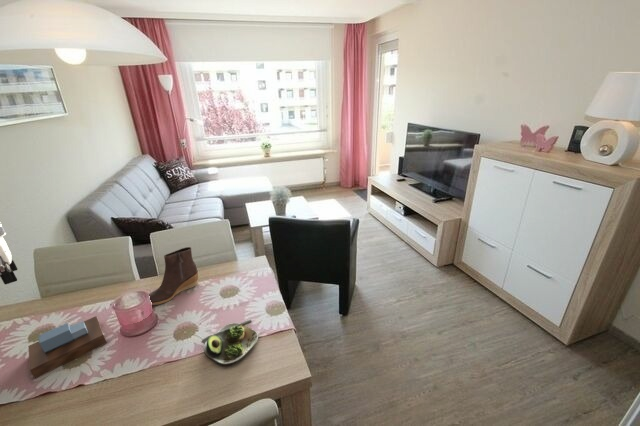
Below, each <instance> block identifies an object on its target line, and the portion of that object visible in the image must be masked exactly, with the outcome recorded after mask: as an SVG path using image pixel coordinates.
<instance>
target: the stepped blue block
mask: <svg viewBox="0 0 640 426" xmlns="http://www.w3.org/2000/svg"><path fill="white" fill-rule="evenodd" d="M87 334H88V331H87V328H86V326H85V324H84V320H82V321H79V322H77V323H74V324H72V325H70V324H69V323H68V322H66V323H64V324H61V325H59V326H57V327H54V328H52V329H50V330H48V331H45V332H43V333H41V334H38V341H39V344H40V345H41V347H42V349H43V351H44V353H45V354H47V353H49V352H51V351H53V350H55V349H57V348H60V347H62V346H64V345H66V344H68V343H70V342H72V341H75V340H77V339H79V338H81V337H83V336H85V335H87Z"/></svg>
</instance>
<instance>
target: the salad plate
mask: <svg viewBox="0 0 640 426" xmlns="http://www.w3.org/2000/svg"><path fill="white" fill-rule="evenodd" d="M251 323H252V319H247V320H245V321H243V322H231V323H228V324H225V325H224V326H223V327H221V328H220V329H219V330H218V331H216V333H214V334H210V335H208V336H206V337H204V338H203V339H201V341H200V343H203V348H202V349H203V353H204V355H205V356H207V358H208V359H210V360H211V361H213V362H214V363H215V364H217V365H220V366H222V367H223V366H224V367H228V366H232V365H235V364H237V363H238V362H240V361H242V360H243V359H244V358H245V357H246V355H247V354H248V353H249V352H250V351H251V350H252V349H253V347H254V346H255V345H256V344H257V342H258V341H259V332H257V331H256V330H255V329H253V328H251V327H249V325H250V324H251Z"/></svg>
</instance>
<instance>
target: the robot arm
mask: <svg viewBox="0 0 640 426" xmlns="http://www.w3.org/2000/svg"><path fill="white" fill-rule="evenodd" d="M6 235H7V232H6V230H5V228H4V225H3V224H2V222H1V221H0V279H1V281H2V282H3V284H4V285H9V284H12V283H15V282H17V281H18V278H17V276H16V274H15V273H14V272H15V271H18V266H17V264H16V263H15V260H13V256H12V252H11V250H10V248H9V246H8V244H7V241H6V240H5V238H4V236H6Z"/></svg>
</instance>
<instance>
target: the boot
mask: <svg viewBox="0 0 640 426" xmlns="http://www.w3.org/2000/svg"><path fill="white" fill-rule="evenodd" d="M163 258H164V274H163V277H162V282H161V283H160V286H159V287H158V288H156V289H154V290H153V291H151V292H150V293H148V294H149V296H150V300H151V302H152V305H151V306H157V305H161V304H165V303H167V302H169V301H171V300H172V299H174V297H176V296H177V295H178V294H179V293H181V292H183V291H186V290H189V289H192V288H195V287H196V286H197V285H198V284H199V283H198V282H199V269H198V265H197V263H196V262H195V261H194V259H193V253H192V247H191V246H186V247H182V248H179V249H176V250H175V251H171V252H169V253H166V254H164V255H163Z"/></svg>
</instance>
